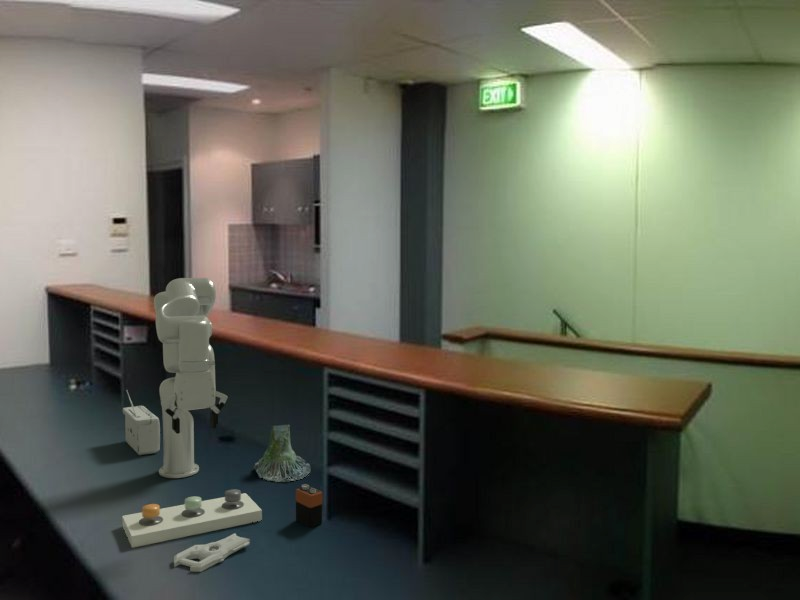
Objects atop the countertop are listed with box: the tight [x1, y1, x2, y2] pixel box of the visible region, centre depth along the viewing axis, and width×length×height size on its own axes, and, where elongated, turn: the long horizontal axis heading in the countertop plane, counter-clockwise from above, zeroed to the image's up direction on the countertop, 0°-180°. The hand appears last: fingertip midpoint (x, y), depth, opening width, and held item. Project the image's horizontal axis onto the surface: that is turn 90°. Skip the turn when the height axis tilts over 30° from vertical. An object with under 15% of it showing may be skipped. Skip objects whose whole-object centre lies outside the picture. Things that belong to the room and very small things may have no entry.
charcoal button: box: [224, 488, 242, 502], centre depth 193 cm, size 4×4×2 cm
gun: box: [173, 533, 251, 573], centre depth 169 cm, size 18×4×10 cm
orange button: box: [141, 503, 161, 518], centre depth 181 cm, size 4×4×2 cm
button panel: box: [121, 492, 263, 549], centre depth 187 cm, size 14×34×3 cm, turn 121°
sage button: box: [184, 495, 202, 510], centre depth 187 cm, size 4×4×2 cm
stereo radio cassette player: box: [122, 389, 161, 456], centre depth 250 cm, size 21×8×20 cm, turn 35°
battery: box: [295, 483, 323, 528], centre depth 190 cm, size 4×7×10 cm, turn 46°
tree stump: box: [253, 424, 311, 483], centre depth 229 cm, size 18×20×18 cm
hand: (195, 429), depth 183 cm, fingers open, 9 cm apart
